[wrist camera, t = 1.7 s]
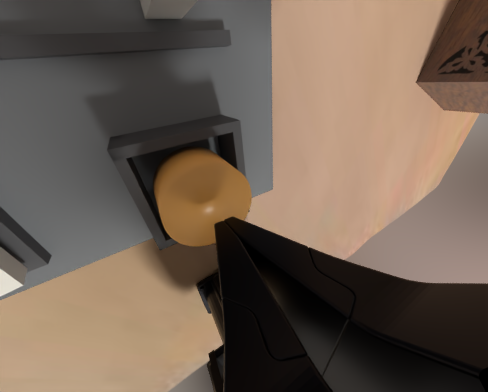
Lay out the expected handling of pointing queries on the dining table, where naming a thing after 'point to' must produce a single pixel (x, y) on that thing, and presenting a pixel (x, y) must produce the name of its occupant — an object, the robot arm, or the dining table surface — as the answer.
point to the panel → (120, 118)
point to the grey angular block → (166, 8)
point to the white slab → (10, 273)
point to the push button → (198, 194)
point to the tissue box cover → (460, 61)
